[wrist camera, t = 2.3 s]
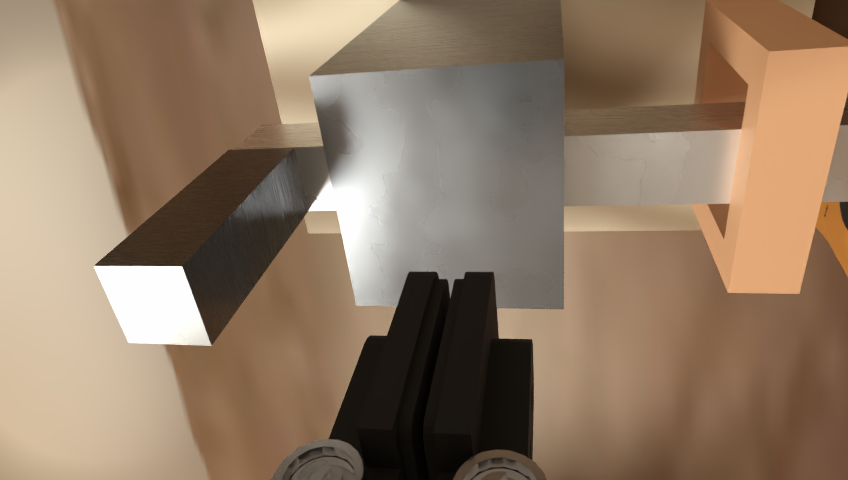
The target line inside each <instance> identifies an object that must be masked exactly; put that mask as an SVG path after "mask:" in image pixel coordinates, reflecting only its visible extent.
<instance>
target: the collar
mask: <svg viewBox="0 0 848 480" xmlns="http://www.w3.org/2000/svg"><path fill="white" fill-rule="evenodd" d="M847 94H848V39H846V38H845V37H843V36H841V35H839V34H837V33H836V32H834V31H832V30H830V29H829V28H827V27H825V26H823V25H822V24H820V23H818V22H816V21H815V20H813V19H811V18H809V17H807V16H806V15H804V14H802V13H800V12H799V11H797V10H795V9H793V8H792V7H790V6H788V5H786V4H784V3H783V2H781V1H779V0H706V3H705V12H704V20H703V29H702V38H701V47H700V56H699V64H698V73H697V82H696V91H695V100H694V104H705V103H725V102H745V101H746V104H745V110H744V116H743V123H742V129H741V135H740V142H739V148H738V155H737V161H736V167H735V174H734V180H733V186H732V193H731V199H730V204H691V205H692V208H693V210H694V213H695V215H696V217H697V220H698V222H699V224H700V227H701V229H702V232H703V234H704V236H705V239H706V241H707V244H708V246H709V248H710V251H711V253H712V256H713V258H714V260H715V263H716V265H717V268H718V270H719V272H720V275H721V277H722V279H723V282H724V284H725V287H726V289H727V291H728V293H785V294H799V293H800V289H801V284H802V280H803V276H804V272H805V268H806V264H807V260H808V255H809V251H810V247H811V243H812V239H813V235H814V231H815V226H816V222H817V218H818V214H819V210H820V206H821V202H822V197H823V193H824V189H825V185H826V181H827V177H828V173H829V168H830V164H831V160H832V156H833V152H834V148H835V144H836V139H837V135H838V131H839V127H840V123H841V119H842V115H843V110H844V106H845V102H846V98H847Z"/></svg>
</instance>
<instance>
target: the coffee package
mask: <svg viewBox="0 0 848 480" xmlns="http://www.w3.org/2000/svg"><path fill="white" fill-rule="evenodd" d="M847 97H848V94H847ZM816 228H817V229H818V230H819V231H820V232H821V233H822V235H823V236H824V237H825V239H826V240H827V241H828V242H829V244H830V246H831V248H832V249H833V251H834V253H835V255H836V257H837V259H838V260H839V262H840V264H841V265H842V267H843V269H844V271H845V273H846V275H847V277H848V202H821V206H820V210H819V214H818V218H817V222H816Z"/></svg>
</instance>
